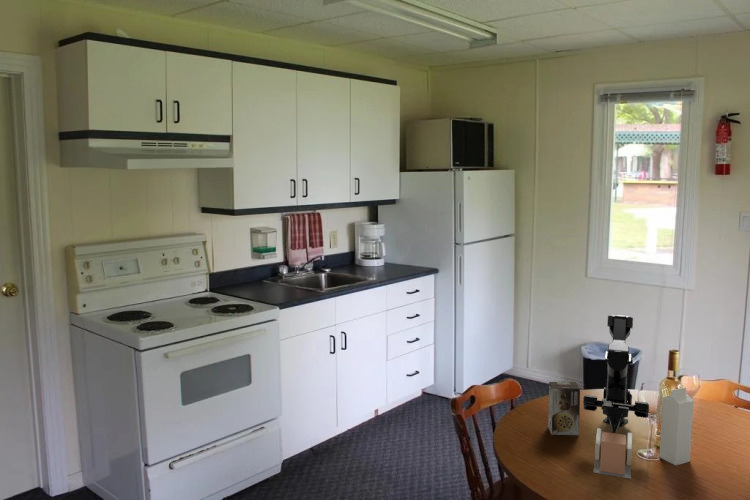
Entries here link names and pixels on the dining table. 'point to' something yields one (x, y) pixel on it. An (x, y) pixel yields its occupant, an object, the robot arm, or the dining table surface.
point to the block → (613, 453)
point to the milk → (676, 427)
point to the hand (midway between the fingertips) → (614, 432)
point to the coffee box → (564, 408)
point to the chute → (598, 453)
